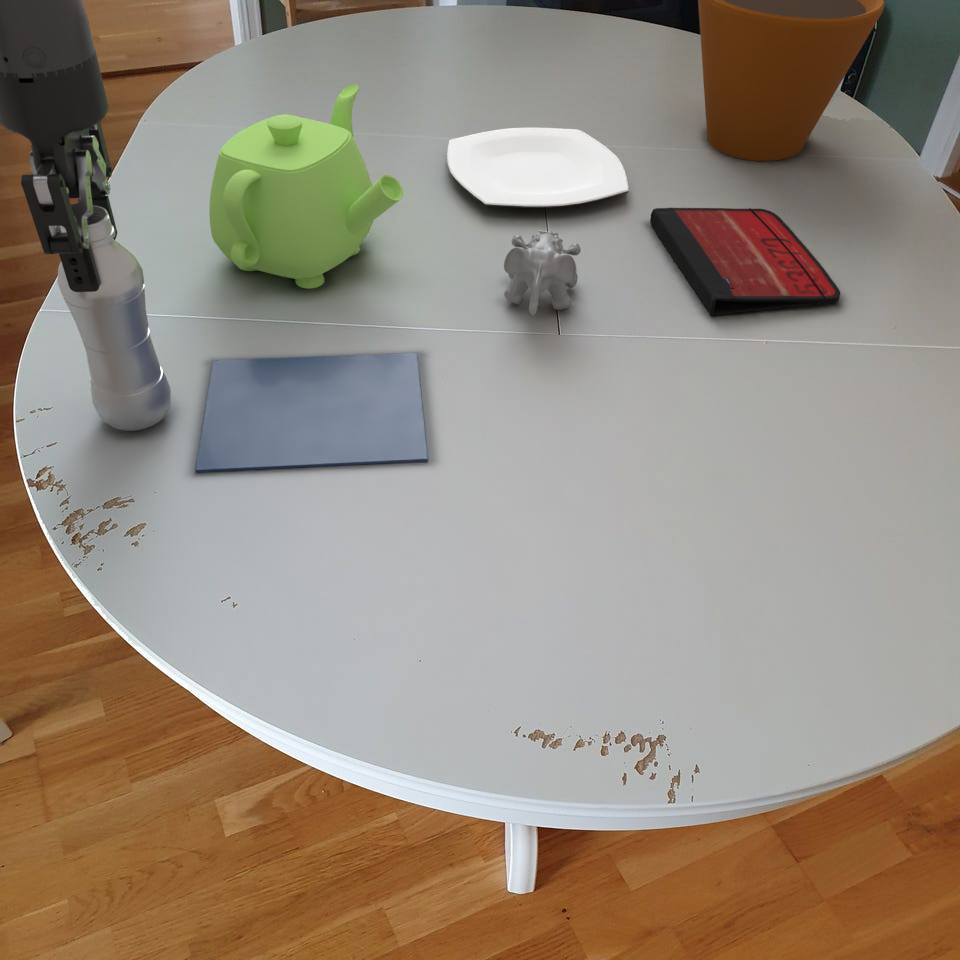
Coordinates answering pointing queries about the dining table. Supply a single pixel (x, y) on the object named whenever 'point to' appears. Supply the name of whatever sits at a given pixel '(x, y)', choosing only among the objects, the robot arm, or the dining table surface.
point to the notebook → (742, 259)
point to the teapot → (296, 195)
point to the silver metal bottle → (117, 334)
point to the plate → (535, 167)
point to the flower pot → (775, 68)
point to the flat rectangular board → (312, 412)
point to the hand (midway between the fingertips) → (95, 263)
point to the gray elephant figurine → (541, 269)
